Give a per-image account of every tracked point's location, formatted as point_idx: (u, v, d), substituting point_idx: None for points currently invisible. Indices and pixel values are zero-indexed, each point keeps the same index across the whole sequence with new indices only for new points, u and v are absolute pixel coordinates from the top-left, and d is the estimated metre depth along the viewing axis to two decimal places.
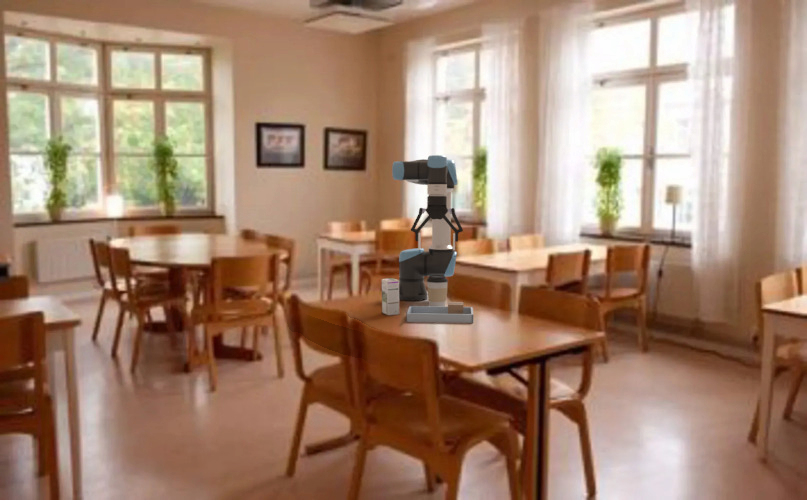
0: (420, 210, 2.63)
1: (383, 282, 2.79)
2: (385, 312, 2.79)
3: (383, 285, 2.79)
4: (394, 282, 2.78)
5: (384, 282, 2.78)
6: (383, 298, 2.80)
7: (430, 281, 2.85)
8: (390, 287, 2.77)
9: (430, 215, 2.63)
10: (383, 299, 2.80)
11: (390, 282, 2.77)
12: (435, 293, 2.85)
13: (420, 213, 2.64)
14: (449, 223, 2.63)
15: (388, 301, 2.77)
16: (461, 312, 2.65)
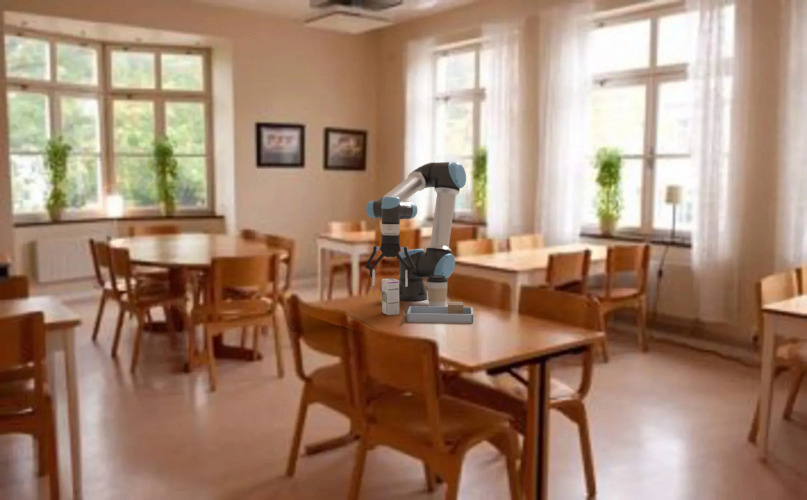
0: (374, 248, 2.78)
1: (383, 282, 2.79)
2: (385, 312, 2.79)
3: (383, 285, 2.79)
4: (394, 282, 2.78)
5: (384, 282, 2.78)
6: (383, 298, 2.80)
7: (430, 281, 2.85)
8: (390, 287, 2.77)
9: (384, 253, 2.77)
10: (383, 299, 2.80)
11: (390, 282, 2.77)
12: (435, 293, 2.85)
13: (374, 251, 2.78)
14: (401, 261, 2.77)
15: (388, 301, 2.77)
16: (461, 312, 2.65)
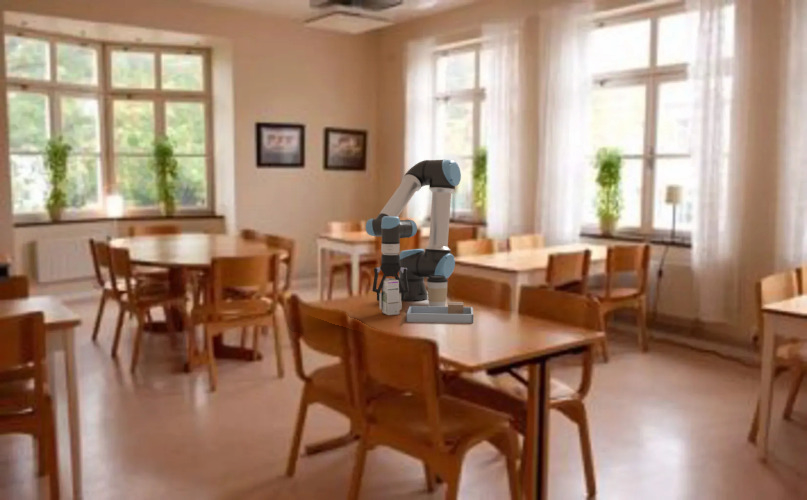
0: (375, 270, 2.79)
1: None
2: (385, 312, 2.79)
3: (383, 285, 2.79)
4: (394, 282, 2.78)
5: (384, 282, 2.78)
6: (383, 298, 2.80)
7: (430, 281, 2.85)
8: (390, 287, 2.77)
9: (385, 273, 2.78)
10: (383, 299, 2.80)
11: (390, 282, 2.77)
12: (435, 293, 2.85)
13: (376, 273, 2.79)
14: None
15: (388, 301, 2.77)
16: (461, 312, 2.65)
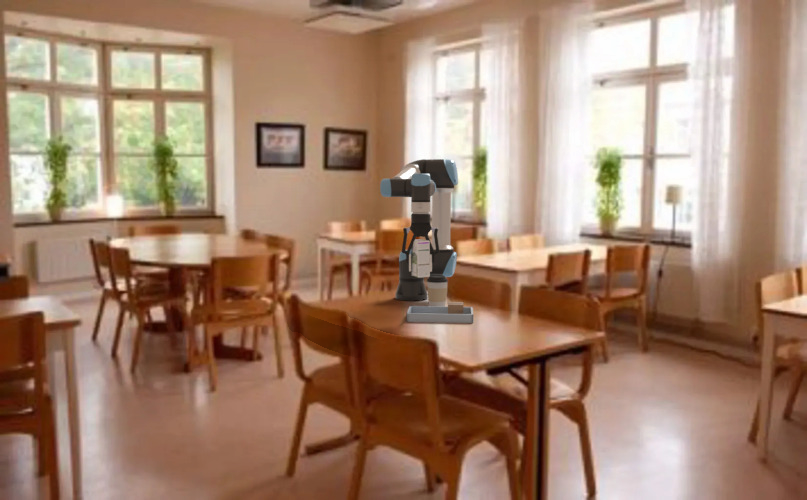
0: (404, 230, 2.65)
1: (413, 243, 2.66)
2: (415, 274, 2.65)
3: (413, 246, 2.66)
4: (425, 242, 2.64)
5: (414, 243, 2.64)
6: (413, 260, 2.66)
7: (430, 281, 2.85)
8: (420, 247, 2.63)
9: (415, 233, 2.64)
10: (413, 261, 2.66)
11: (420, 242, 2.63)
12: (435, 293, 2.85)
13: (405, 233, 2.65)
14: None
15: (419, 262, 2.63)
16: (461, 312, 2.65)
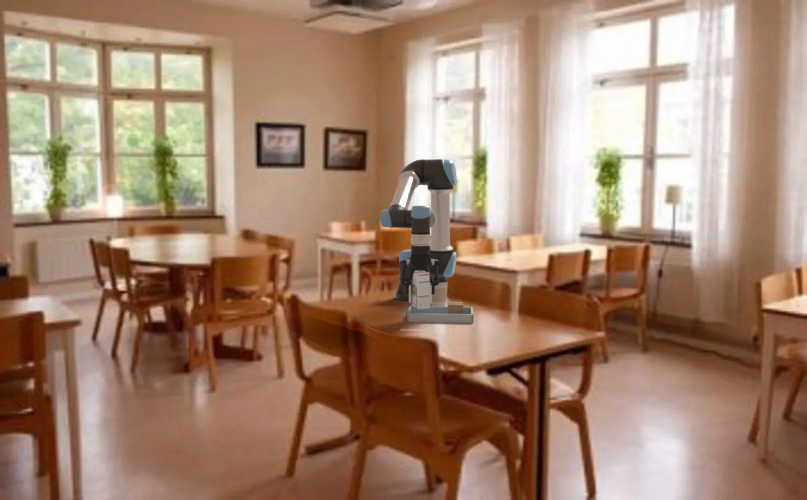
0: (404, 262, 2.66)
1: (413, 275, 2.67)
2: (415, 306, 2.66)
3: (413, 278, 2.67)
4: (424, 274, 2.65)
5: (414, 274, 2.66)
6: (413, 291, 2.68)
7: None
8: (420, 279, 2.64)
9: (415, 265, 2.66)
10: (413, 292, 2.67)
11: (420, 274, 2.64)
12: (435, 293, 2.85)
13: (405, 265, 2.66)
14: None
15: (418, 294, 2.65)
16: (461, 312, 2.65)
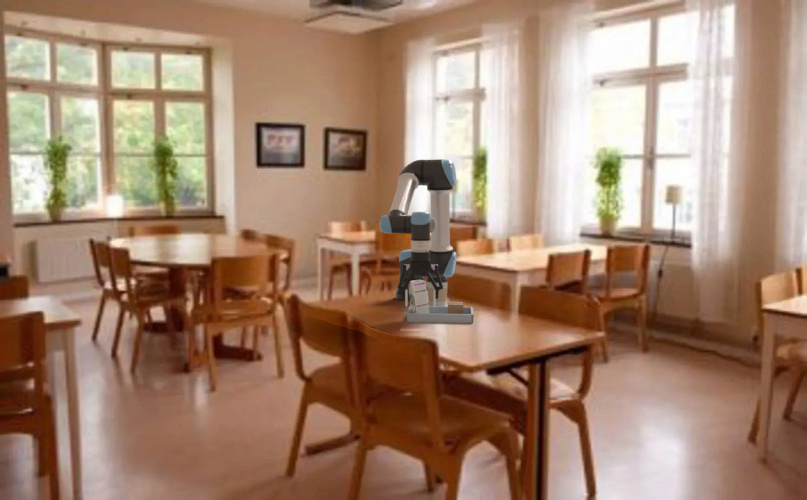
0: (404, 267, 2.66)
1: (409, 285, 2.68)
2: None
3: (410, 288, 2.68)
4: (421, 283, 2.65)
5: (410, 284, 2.66)
6: (411, 301, 2.68)
7: None
8: (417, 289, 2.65)
9: (414, 271, 2.66)
10: (411, 302, 2.68)
11: (416, 284, 2.65)
12: None
13: (404, 270, 2.67)
14: (431, 280, 2.66)
15: (416, 303, 2.65)
16: (461, 312, 2.65)
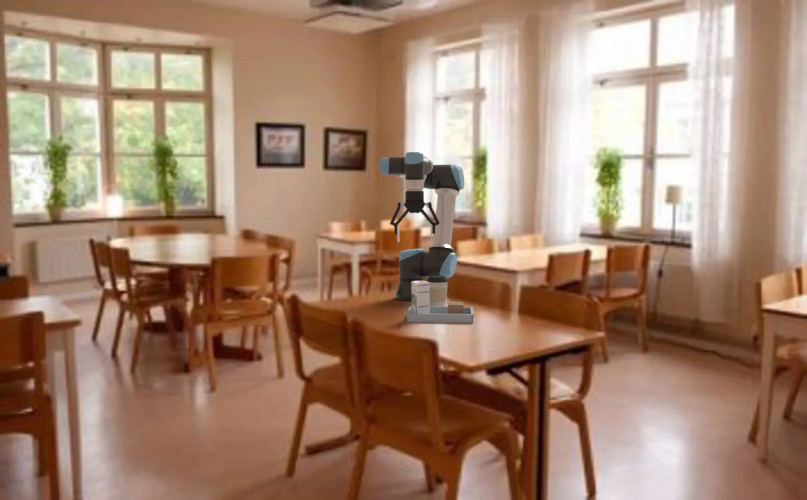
0: (398, 204, 2.76)
1: (413, 285, 2.68)
2: None
3: (413, 288, 2.68)
4: (424, 285, 2.65)
5: (414, 284, 2.66)
6: (413, 301, 2.68)
7: (430, 281, 2.85)
8: (420, 289, 2.65)
9: (408, 209, 2.75)
10: (413, 302, 2.68)
11: (420, 285, 2.65)
12: (435, 293, 2.85)
13: (398, 207, 2.76)
14: (426, 216, 2.76)
15: (418, 304, 2.65)
16: (461, 312, 2.65)
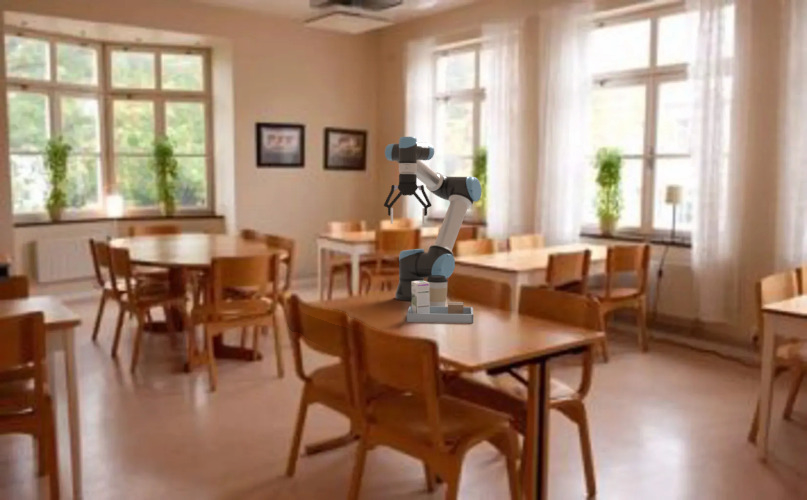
0: (392, 187, 2.88)
1: (413, 285, 2.68)
2: None
3: (413, 288, 2.68)
4: (424, 285, 2.65)
5: (414, 284, 2.66)
6: (413, 301, 2.68)
7: (430, 281, 2.85)
8: (420, 289, 2.65)
9: (401, 191, 2.87)
10: (413, 302, 2.68)
11: (420, 285, 2.65)
12: (435, 293, 2.85)
13: (392, 190, 2.88)
14: (419, 199, 2.87)
15: (418, 304, 2.65)
16: (461, 312, 2.65)
